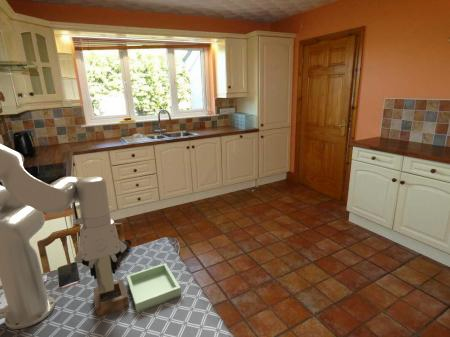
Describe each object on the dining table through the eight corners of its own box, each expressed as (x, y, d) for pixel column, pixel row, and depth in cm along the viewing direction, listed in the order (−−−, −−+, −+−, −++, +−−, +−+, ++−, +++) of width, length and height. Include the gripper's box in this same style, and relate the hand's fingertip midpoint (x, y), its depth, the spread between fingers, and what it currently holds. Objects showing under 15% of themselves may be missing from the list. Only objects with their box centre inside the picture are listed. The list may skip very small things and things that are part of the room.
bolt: (131, 249, 122) (115, 269, 107) (120, 244, 121) (103, 263, 107) (136, 239, 120) (121, 257, 106) (125, 234, 120) (109, 251, 106)
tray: (136, 312, 83) (135, 304, 82) (127, 283, 96) (126, 275, 96) (181, 295, 89) (180, 287, 88) (166, 270, 103) (165, 262, 102)
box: (99, 284, 88) (93, 248, 84) (114, 280, 89) (108, 244, 86) (99, 295, 83) (92, 256, 80) (114, 290, 85) (108, 253, 81)
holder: (97, 318, 81) (95, 307, 80) (94, 297, 90) (93, 288, 89) (129, 306, 85) (127, 296, 84) (123, 287, 94) (122, 278, 93)
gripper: (62, 231, 73) (73, 290, 78) (129, 217, 81) (135, 272, 86) (63, 221, 80) (73, 276, 84) (124, 209, 88) (130, 260, 92)
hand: (104, 273), depth 85 cm, fingers closed on box, 4 cm apart
